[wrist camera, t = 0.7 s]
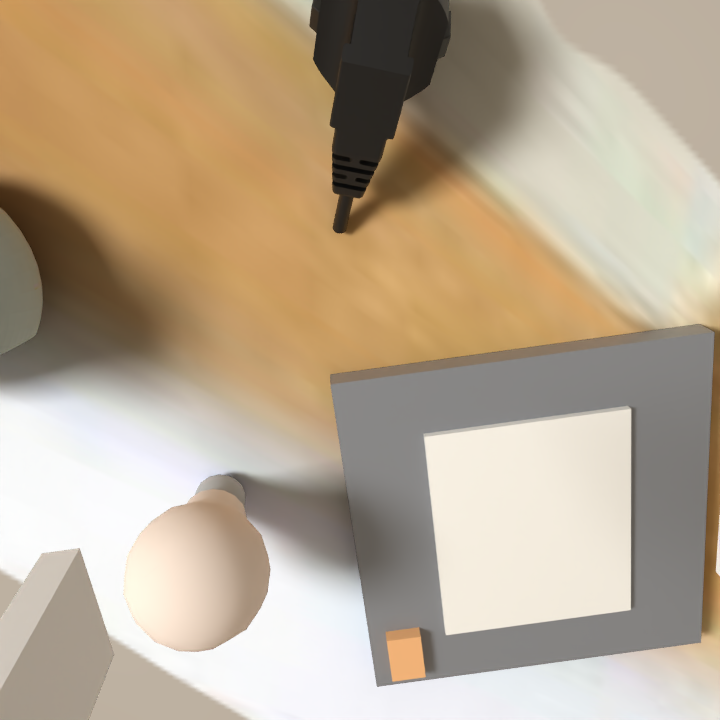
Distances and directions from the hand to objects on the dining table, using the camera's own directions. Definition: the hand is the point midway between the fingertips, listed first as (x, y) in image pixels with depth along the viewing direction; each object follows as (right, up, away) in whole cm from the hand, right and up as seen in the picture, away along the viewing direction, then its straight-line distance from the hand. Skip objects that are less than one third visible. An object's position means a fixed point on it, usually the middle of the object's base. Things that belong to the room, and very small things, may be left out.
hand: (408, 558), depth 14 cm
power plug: (-2, +13, +22) cm, 25 cm away
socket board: (+9, -5, +26) cm, 28 cm away
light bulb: (-9, -3, +25) cm, 26 cm away
